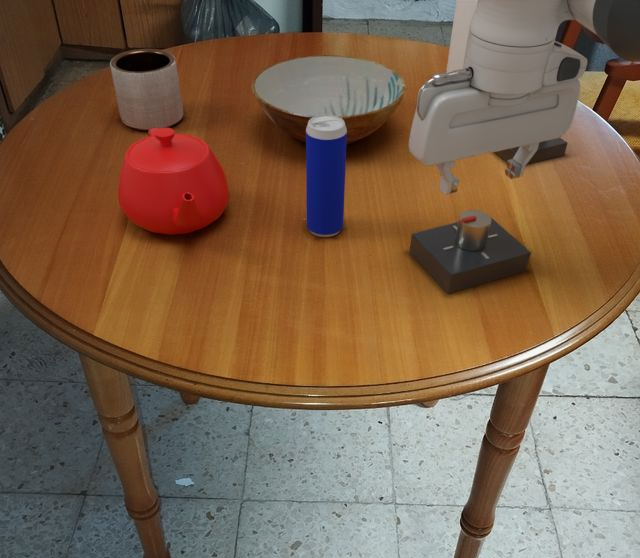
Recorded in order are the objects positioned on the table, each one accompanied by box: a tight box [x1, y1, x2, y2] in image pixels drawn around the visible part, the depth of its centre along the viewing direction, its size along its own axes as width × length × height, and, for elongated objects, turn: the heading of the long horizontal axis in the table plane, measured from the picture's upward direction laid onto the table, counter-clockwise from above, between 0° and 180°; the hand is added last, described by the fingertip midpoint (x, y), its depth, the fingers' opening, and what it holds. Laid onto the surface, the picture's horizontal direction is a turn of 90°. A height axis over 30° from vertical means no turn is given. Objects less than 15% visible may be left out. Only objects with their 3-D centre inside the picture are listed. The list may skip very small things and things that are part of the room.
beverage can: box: [305, 115, 347, 238], centre depth 90 cm, size 5×5×15 cm
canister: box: [445, 0, 478, 73], centre depth 116 cm, size 14×14×20 cm
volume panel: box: [409, 217, 532, 295], centre depth 89 cm, size 12×10×3 cm
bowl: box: [250, 54, 407, 146], centre depth 113 cm, size 25×25×8 cm
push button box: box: [493, 137, 568, 165], centre depth 111 cm, size 10×12×4 cm
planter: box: [109, 48, 184, 132], centre depth 115 cm, size 11×11×10 cm
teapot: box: [117, 127, 231, 236], centre depth 93 cm, size 25×16×12 cm, turn 21°
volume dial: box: [455, 209, 492, 251], centre depth 87 cm, size 4×4×4 cm
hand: (480, 183), depth 82 cm, fingers open, 8 cm apart
